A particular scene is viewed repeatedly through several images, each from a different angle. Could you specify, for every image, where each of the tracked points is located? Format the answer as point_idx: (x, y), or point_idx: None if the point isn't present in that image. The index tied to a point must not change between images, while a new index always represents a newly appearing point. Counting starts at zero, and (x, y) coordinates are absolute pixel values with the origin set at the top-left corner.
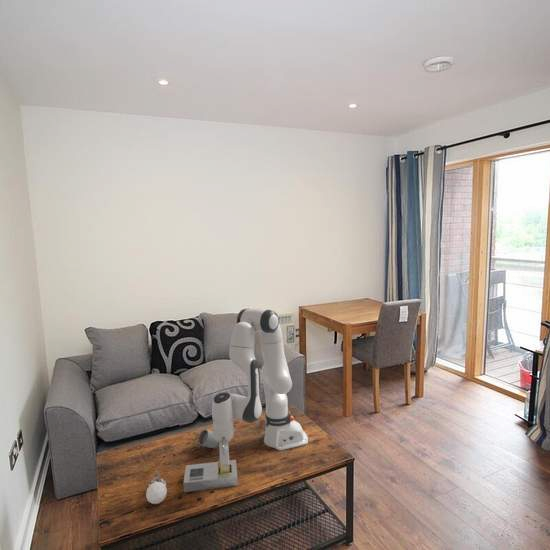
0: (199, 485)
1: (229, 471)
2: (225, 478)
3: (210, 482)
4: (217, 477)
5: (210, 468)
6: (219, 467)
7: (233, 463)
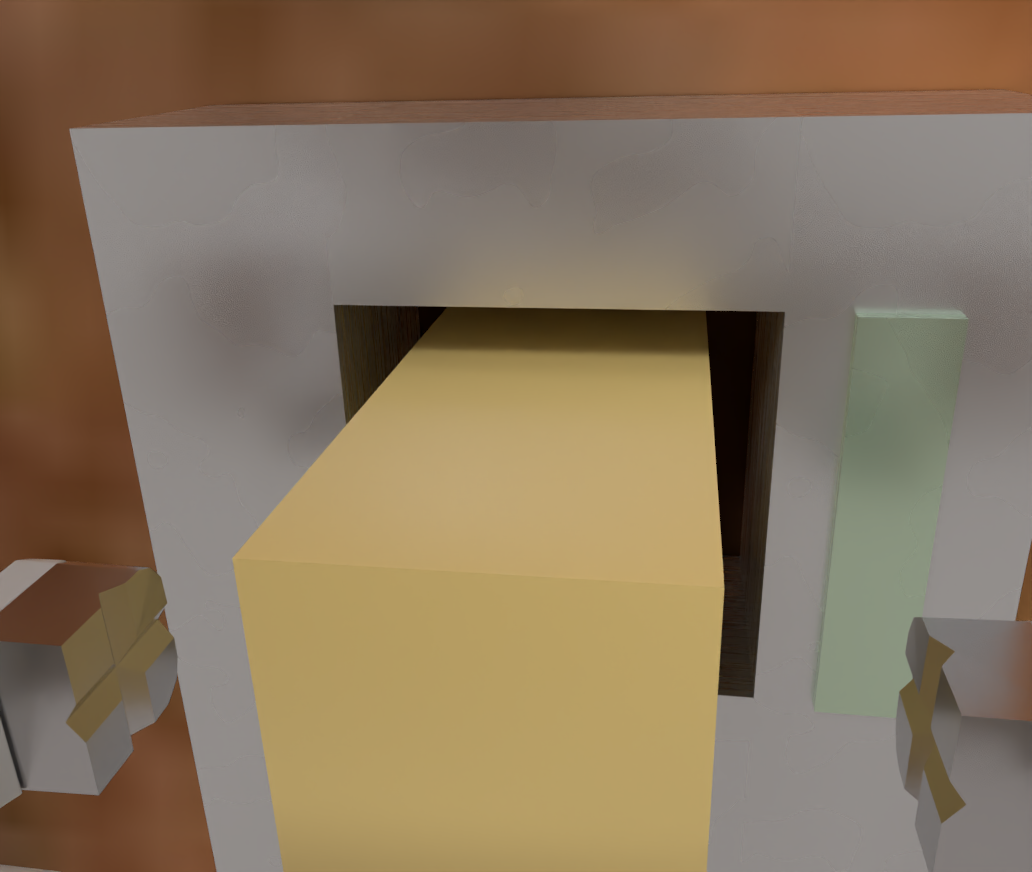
0: None
1: (709, 384)
2: (1027, 520)
3: None
4: None
5: None
6: None
7: (276, 228)
